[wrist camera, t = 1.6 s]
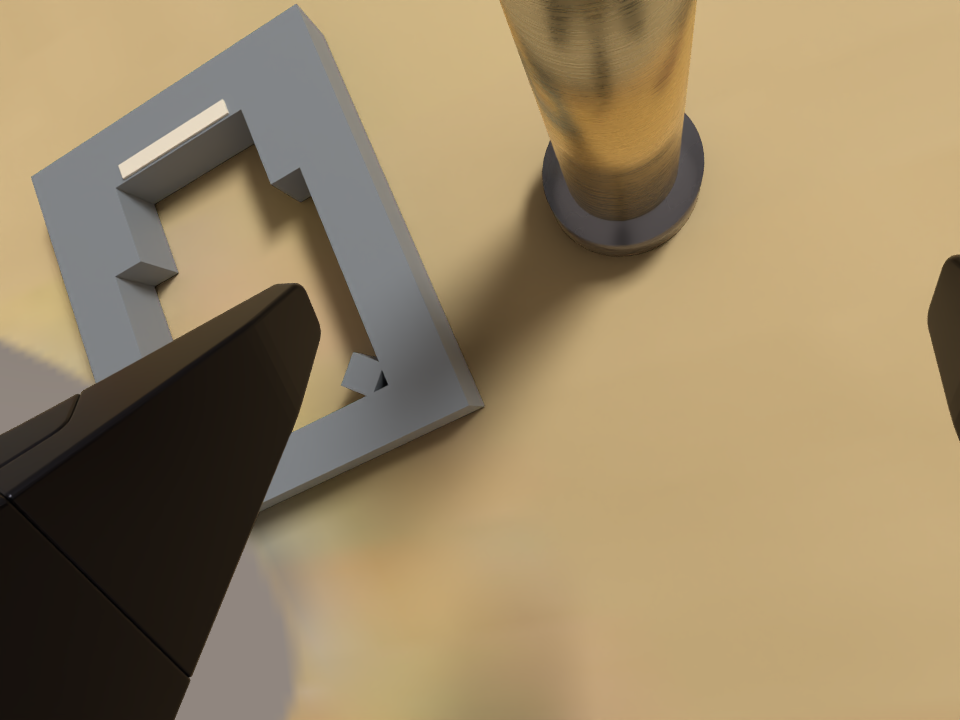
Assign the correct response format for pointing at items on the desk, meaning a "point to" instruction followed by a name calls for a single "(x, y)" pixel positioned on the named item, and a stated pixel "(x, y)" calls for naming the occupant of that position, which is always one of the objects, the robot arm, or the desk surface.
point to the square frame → (300, 174)
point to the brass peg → (613, 116)
